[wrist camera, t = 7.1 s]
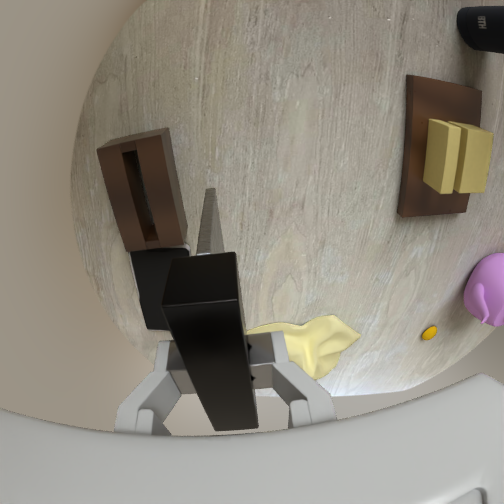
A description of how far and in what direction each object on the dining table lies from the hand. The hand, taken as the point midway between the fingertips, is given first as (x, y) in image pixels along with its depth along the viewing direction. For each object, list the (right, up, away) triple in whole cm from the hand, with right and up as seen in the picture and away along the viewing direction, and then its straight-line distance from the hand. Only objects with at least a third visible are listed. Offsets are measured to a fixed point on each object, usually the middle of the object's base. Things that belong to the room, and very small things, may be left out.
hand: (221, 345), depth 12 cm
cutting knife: (-1, +3, +5) cm, 6 cm away
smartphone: (-11, -1, +28) cm, 30 cm away
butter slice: (+23, +16, +17) cm, 33 cm away
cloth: (+8, -13, +38) cm, 41 cm away
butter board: (+25, +17, +19) cm, 36 cm away
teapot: (+45, 0, +33) cm, 56 cm away
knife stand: (-10, +11, +19) cm, 25 cm away
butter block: (+28, +17, +18) cm, 37 cm away
